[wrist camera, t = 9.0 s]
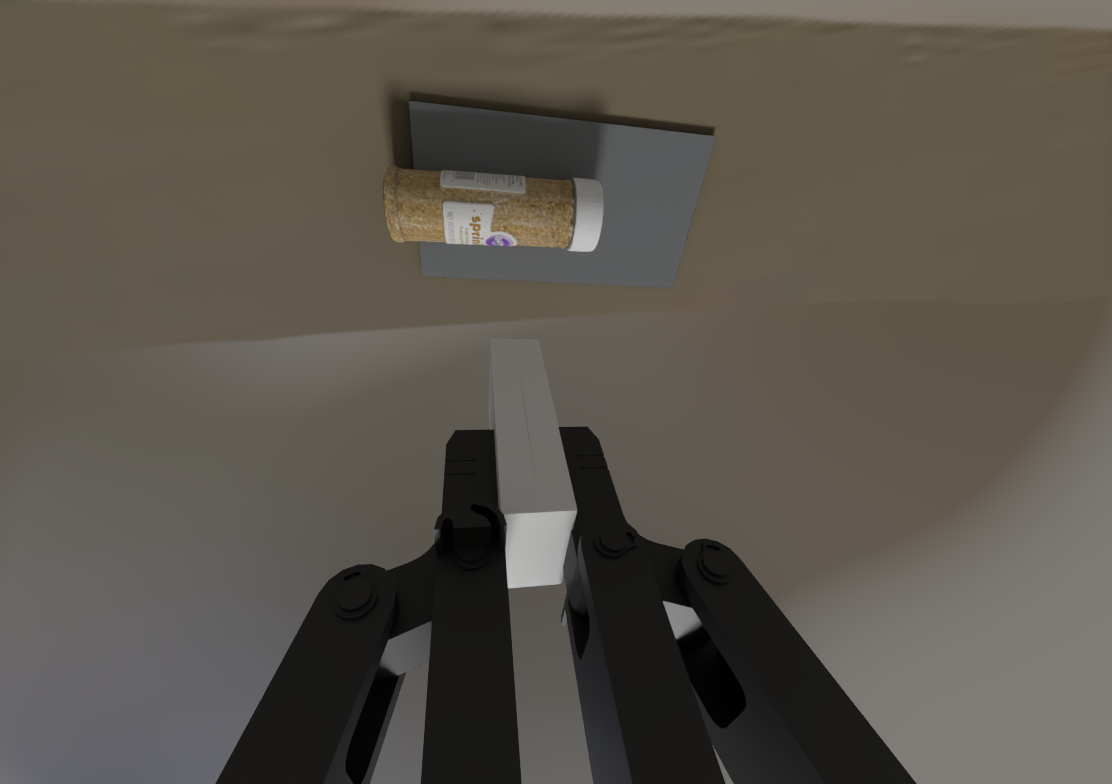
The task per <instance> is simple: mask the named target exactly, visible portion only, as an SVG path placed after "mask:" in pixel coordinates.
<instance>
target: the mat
mask: <svg viewBox="0 0 1112 784" xmlns="http://www.w3.org/2000/svg"><path fill="white" fill-rule="evenodd" d="M409 112H410V125H411V138H412V151H413V164H414V170H428V171H442V170H450V171H464V172H477V173H490V174H503V175H518V176H525V177H528V178H543V179H555V180H566V179H569V180H570V181H571V179H572V178H584V179H592V180H597V181H598V182H599V183H600V184H601V187H602V190H603V200H604V210H603V222H602V229H601V234H600V238H599V241H598V244H597V246H596V248H595V249H594V250H593V251H590V252H579V251H568V250H567V249H566V246H565V248H564V249H562V248H560V247H535V246H490V245H468V244H448V243H446V242H428V241H419V243H420V256H421V269H422V276H434V277H454V278H475V279H496V280H517V281H538V282H559V283H580V284H601V285H622V286H643V287H664V288H672V287H673V284H674V280H675V277H676V273H677V270H678V266H679V263H680V259H681V256H682V252H683V249H684V245H685V242H686V238H687V235H688V231H689V228H690V224H691V221H692V217H693V214H694V210H695V207H696V203H697V200H698V196H699V193H700V189H701V186H702V182H703V179H704V175H705V172H706V168H707V165H708V161H709V158H710V154H711V151H712V147H713V144H714V140H715V137H716V136H713V135H704V134H696V133H687V132H678V131H670V130H661V129H652V128H644V127H635V126H626V125H618V124H609V123H600V122H592V121H583V120H574V119H566V118H557V117H549V116H540V115H531V114H523V113H514V112H505V111H497V110H488V109H479V108H471V107H462V106H453V105H445V104H436V103H427V102H419V101H410V100H409Z"/></svg>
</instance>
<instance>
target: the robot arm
mask: <svg viewBox="0 0 1112 784" xmlns="http://www.w3.org/2000/svg"><path fill="white" fill-rule="evenodd" d="M489 423H490V430H455V432H454V434H453V435H452V436H451V438H450V440H449V441H448V443H447V444H446V457H445V472H444V488H443V503H442V513H441V515H440V516H439V517H438V518H437V522H436V525H435V528H434V536H435V543H434V545H433V546H432V547H431V548H430V549H429V550H428V551H427V552H426V553H425V554H423V555H422V556H421V557H419V558H417V559H415V560H413V561H411V562H409V563H407V564H404V565H401V566H398V567H396V568H393V569H391V570H388V571H386V570H385V569H384V568H381V567H378V566H375V565H373V564H368V565H367V564H366V565H356V566H353V567H350V568H347V569H345V570H342V571H341V572H339V573H338V574H337V575H335V576H334V577H332V578H331V579H330V580H329V581H328V582H327V583H326V584H325V586H324V587H323V588H322V590H321V591H320V592H319V594H318V596H317V597H316V599H315V601H314V603H313V605H312V607H311V608H310V611H309V612H308V614H307V616H306V618H305V619H304V621H303V623H302V625H301V627H300V629H299V631H298V632H297V634H296V636H295V638H294V640H293V642H292V644H291V645H290V647H289V649H288V651H287V653H286V655H285V657H284V658H283V660H282V662H281V664H280V666H279V667H278V669H277V671H276V673H275V675H274V677H273V679H272V680H271V682H270V684H269V686H268V688H267V690H266V692H265V693H264V695H263V697H262V699H261V701H260V702H259V704H258V706H257V708H256V710H255V712H254V714H253V716H252V717H251V719H250V721H249V723H248V725H247V726H246V729H245V730H244V732H243V734H242V736H241V738H240V740H239V741H238V743H237V745H236V747H235V749H234V751H233V753H232V754H231V756H230V758H229V760H228V762H227V763H226V765H225V767H224V769H223V771H222V773H221V774H220V776H219V778H218V780H217V782H216V784H370V781H371V778H372V775H373V772H374V769H375V766H376V763H377V760H378V757H379V754H380V751H381V747H382V745H383V741H384V738H385V735H386V732H387V729H388V726H389V723H390V720H391V717H392V714H393V711H394V708H395V704H396V701H397V699H398V696H399V692H400V689H401V686H402V683H403V680H404V677H405V674H406V672H407V671H409V670H411V669H413V668H415V667H417V666H419V665H421V664H423V663H425V662H428V661H429V672H428V686H427V687H428V688H427V701H426V716H425V731H424V746H423V760H422V776H421V784H521V770H520V756H519V741H518V728H517V713H516V699H515V684H514V669H513V655H512V640H511V627H510V611H509V596H508V588H518V587H530V586H540V585H553V584H561V583H562V578H563V574H564V577H565V583H566V588H567V594H566V599H565V603H564V607H563V611H562V615H561V626H563V625H566V622H567V624H568V630H569V636H570V643H571V649H572V654H573V661H574V667H575V673H576V679H577V685H578V691H579V698H580V704H581V710H582V716H583V722H584V728H585V734H586V741H587V747H588V752H589V758H590V765H591V771H592V777H593V783H594V784H725V781H724V778H723V775H722V772H721V770H720V766H719V764H718V761H717V758H716V755H715V752H714V749H713V746H714V748H715V750H716V752H717V754H718V756H719V757H720V759H721V761H722V763H723V765H724V767H725V769H726V770H727V772H728V774H729V776H730V778H731V780H732V781H733V783H734V784H916V782H915V781H914V780H913V779H912V777H911V776H910V775H909V774H908V772H907V771H906V770H905V769H904V767H903V766H902V765H901V763H900V762H899V761H898V760H897V758H896V757H895V756H894V754H893V753H892V752H891V751H890V749H889V748H888V747H887V746H886V744H885V743H884V742H883V740H882V739H881V738H880V737H879V735H878V734H877V733H876V731H875V730H874V729H873V728H872V726H871V725H870V724H869V723H868V721H867V720H866V719H865V717H864V716H863V715H862V714H861V712H860V711H859V710H858V709H857V707H856V706H855V705H854V703H853V702H852V701H851V700H850V698H849V697H848V696H847V694H846V693H845V692H844V691H843V690H842V688H841V687H840V686H839V684H838V683H837V682H836V680H835V679H834V678H833V677H832V675H831V674H830V673H829V672H828V670H827V669H826V668H825V667H824V665H823V664H822V663H821V661H820V660H819V659H818V658H817V657H816V655H815V654H814V652H813V651H812V650H811V649H810V647H809V646H808V645H807V644H806V642H805V641H804V640H803V639H802V637H801V636H800V635H799V633H798V632H797V631H796V630H795V628H794V627H793V626H792V625H791V623H790V622H789V621H788V619H787V618H786V617H785V615H784V614H783V613H782V612H781V610H780V609H779V608H778V606H777V605H776V604H775V603H774V601H773V600H772V599H771V598H770V596H769V595H768V594H767V593H766V591H765V590H764V589H763V587H762V586H761V585H760V584H759V582H758V581H757V580H756V578H755V577H754V576H753V575H752V573H751V572H750V571H749V570H748V569H747V567H746V566H745V564H744V563H743V562H742V561H741V560H740V558H739V557H738V556H737V555H736V554H735V553H734V552H733V551H732V550H731V549H730V548H728V547H726V546H724V545H723V544H721V543H719V542H717V541H713V540H709V539H698V540H694V541H692V542H690V543H689V544H687V545H686V547H685V549H684V550H683V549H678V548H675V547H671V546H666V545H662V544H658V543H655V542H652V541H649V540H647V539H645V538H643V537H642V536H640V535H639V534H638V533H637V531H636V530H635V529H634V528H633V527H631V526H630V525H629V524H628V523H627V522H626V519H625V518H624V515H623V513H622V510H621V506H620V503H619V500H618V497H617V494H616V491H615V488H614V485H613V482H612V479H611V476H610V473H609V470H608V468H607V463H606V460H605V458H604V454H603V451H602V448H601V445H600V442H599V439H598V438H597V437H596V436H595V435H594V434H593V433H592V431H591V430H590V429H589V428H588V427H558V423H557V419H556V414H555V410H554V406H553V401H552V397H551V393H550V388H549V384H548V379H547V375H546V371H545V366H544V362H543V358H542V353H541V349H540V344H539V340H531V339H490V374H489ZM712 745H713V746H712Z"/></svg>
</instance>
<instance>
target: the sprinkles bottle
mask: <svg viewBox="0 0 1112 784" xmlns="http://www.w3.org/2000/svg"><path fill="white" fill-rule="evenodd" d="M383 205H384V211H385V216H386V221H387V226H388V229H389V232H390V235H391V237H392V238H393V240H394V241H396V242H404V241H407V240H408V241H428V242H446V243H448V244H468V245H490V246H535V247H560V248H562V249H564V248H565V246H566V249H567V250H568V251H579V252H590V251H593V250H594V249H595V248H596V246H597V244H598V241H599V238H600V234H601V229H602V222H603V210H604V200H603V190H602V187H601V184H600V183H599V182H598V181H597V180H592V179H584V178H572V179H571V181H570V180H569V179H566V180H555V179H543V178H528V177H525V176H518V175H503V174H490V173H477V172H464V171H450V170H442V171H428V170H414V169H402V168H399V167H397V166H394V165H391V166H389V167H388V168H387V170H386V172H385V175H384V180H383Z"/></svg>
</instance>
